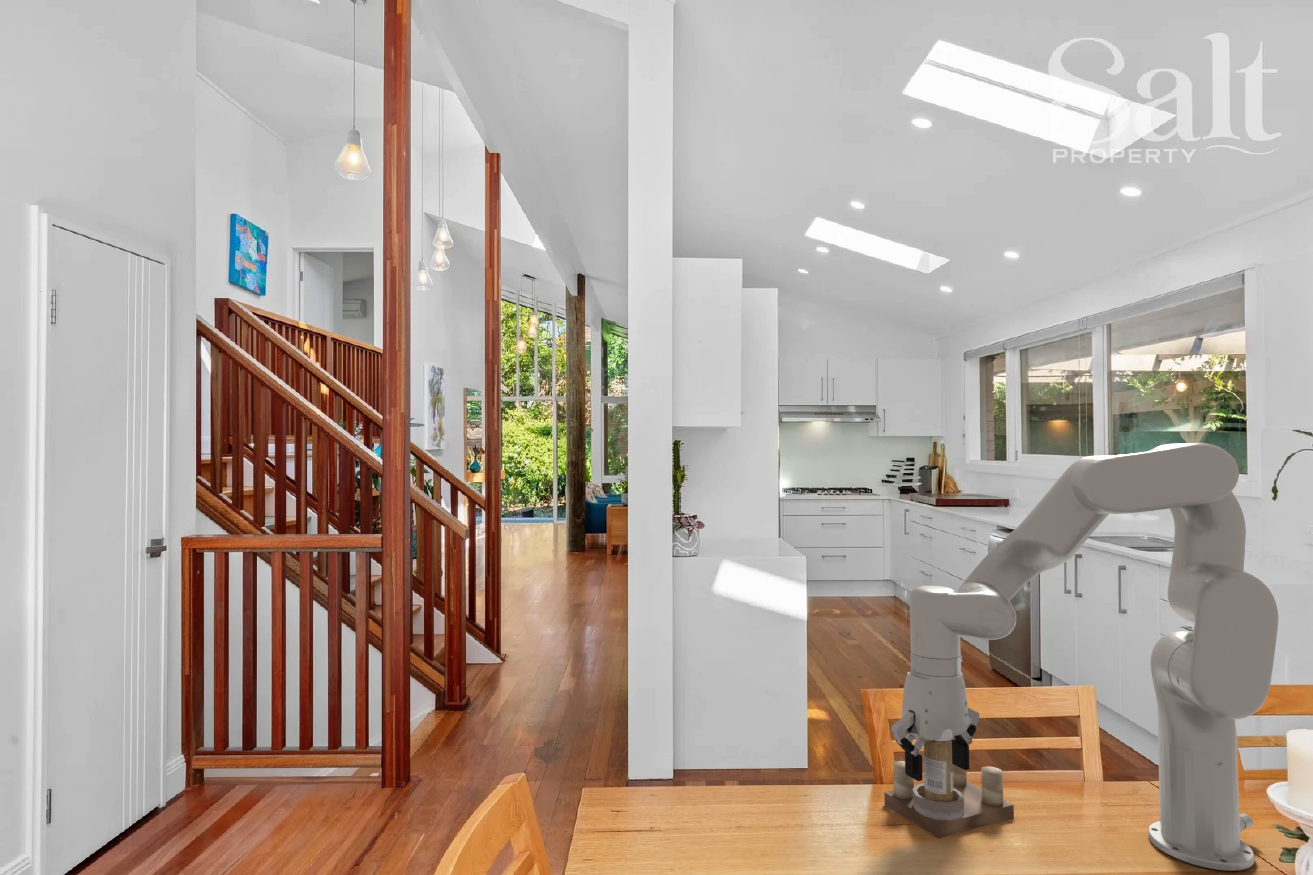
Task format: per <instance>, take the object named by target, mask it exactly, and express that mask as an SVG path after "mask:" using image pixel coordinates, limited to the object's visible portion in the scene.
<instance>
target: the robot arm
mask: <svg viewBox="0 0 1313 875" xmlns="http://www.w3.org/2000/svg"><path fill="white" fill-rule="evenodd" d="M1239 476H1240V470H1239V467H1238V464H1237V461H1236V459H1235V458H1234V457H1233V456H1232V454H1230V452H1229V451H1227V450H1225V449H1224V448H1222V447H1220V446H1218V445H1214V444H1212V443H1207V442H1206V443H1205V442H1194V443H1193V442H1189V443H1182V442H1181V443H1180V442H1179V443H1178V442H1177V443H1167V444H1161V445H1158V446H1156V447H1153V448H1152V449H1150V450H1148V451H1142V452H1136V453H1133V452H1132V453H1127V454H1117V455H1116V454H1115V455H1089V456H1085V457H1081V458H1079V459H1078V460H1076V461H1075V462H1074V461H1073V463H1072V464H1071V465H1069V466H1068V468H1066V470H1065V471H1064V472H1063V473H1062V475H1061V476H1059V478H1058V479H1057V481H1055V483H1054V484H1053V485H1052V486H1051V487H1050V489H1049V490H1048V491H1047V492H1046V494H1045V495H1044V496H1043V497H1042V498H1041V500H1040V501H1039V502H1038V503H1037V504H1036V505H1035V507H1034V508H1033V509H1032V510H1031V511H1030V512H1029V513H1028V515H1027V516H1026V517H1025V518H1024V519H1023V520H1022V522H1020V524H1019V525H1018V526H1016V528H1014V530H1011V531H1010V533H1009V534H1007V536H1006V537H1005V538H1004V539H1003V540H1002V541H1000V543H998V544H997V545H996V546H995V547H994V548H993V549H992V550H991V551H989V552H988V554H987V555H986V556H985V557H984V558H982V560H980V562H979V564H977V566H976V567H975V568H974V569H973V571H971V573H970V574H969V575H968V576H967V577H966V579H965V580H964V581H963V582H962V583H961V585H960V586H959V588H958V590H957V591H956V590H954V589H953V588H950V587H948V586H942V585H940V586H939V585H920V586H917V587H914V588H913V589H912V590H911V591H910V594H909V627H910V628H909V629H910V635H909V636H910V671H908V672H906V673H907V674H906V677H905V679H904V680H905V682H904V687H903V694H902V696H903V697H902V706H901V707H902V710H901V718H900V719H899V720H898V721H896V722H895V723H893V725H892V726H891V732H892V734H893V737H894V738H895V742H896V743H897V744H898V746H900V749H902V750H903V751H904V761H905V773H906V775H908V776H909V777H911V778H913V779H914V781H917V782H921V781H923V780H924V772H923V756H922V754H920V752H921V750H922V748H924V743H925V741H934V740H937V739H940V738H941V736H942V733H943V731H945V730H948V729H950V730H951V731H952V735H953V738H952V764H954V765H955V766H957V767H959V768H961V769H964V770H967V771H969V770H970V745H971V744H972V743H973V736H974V734H975V733H976V732H977V725H978V722H979V720H980V716H981V715H980V713H979V711H978V712H977V711H976V710H973V709H972V708H971V707H968V696H967V690H966V684H965V679H964V674H963V672H962V666H961V664H962V662H963V661H964V657H963V655H962V654H961V636H965V637H970V638H975V639H981V640H988V641H994V640H1001V639H1003V638H1006V637H1007V636H1008V635H1010V634H1011V633H1012V632H1013V631H1014V629H1015V627H1016V624H1017V612H1016V609H1015V607H1014V605H1013V604H1012V602H1011V600H1012V599H1013V598H1014V597H1015V596H1016V594H1017V593H1019V591H1020V590H1021V589H1023V587H1024V586H1025V585H1026V584H1027V583H1028V582H1030V581H1032V580H1033V579H1034V578H1035V577H1036V576H1038V575H1041V573H1044V572H1046V571H1049V570H1052V569H1054V568H1057V567H1059V566H1062V565H1063V564H1065V563H1066V562H1068V561H1069V560H1071V559H1072V558H1073V557H1074V556H1075V554H1076V553H1077V552H1078V550H1080V548H1081V547H1082V546H1083V545H1084V544H1085V542H1086V541H1087V540H1088V539H1089V538H1090V537H1091V535H1092V534H1093V533H1094V532H1095V531H1096V530H1097V529H1098V527H1099V526H1100V525H1101V524H1102V522H1104V521H1105V519H1106V518H1107V517H1108V515H1110V514H1113V515H1121V514H1135V513H1137V514H1138V513H1145V512H1154V511H1162V510H1168V509H1169V511H1170V512H1171V516H1172V519H1173V524H1174V535H1173V536H1174V537H1173V538H1174V539H1173V541H1174V544H1173V550H1172V555H1171V556H1172V558H1171V565H1170V572H1169V573H1170V574H1169V578H1168V579H1169V580H1168V586H1167V600H1168V603H1169V605H1170V608H1171V609H1172V610H1173V611H1174V613H1175V614H1177V616H1179V617H1181V618H1182V619H1183V620H1185V621H1187V622H1189V623H1191V624H1193V625H1194V628H1193V631H1191V630H1176V631H1172V632H1169V633H1167V634H1164V635H1163V636H1162V637H1161V638H1160V639H1158V640H1157V642H1156V643H1155V644H1154V646H1153V647H1152V648H1153V649H1152V652H1151V654H1150V655H1151V656H1150V672H1151V679H1152V684H1153V690H1154V695H1155V703H1156V704H1155V705H1156V714H1157V715H1156V717H1157V751H1158V752H1157V753H1158V782H1159V783H1158V784H1159V785H1158V786H1159V787H1158V789H1159V819H1160V820H1158V821H1155V822H1152V823H1151V824H1150V825H1149V826H1148V829H1147V831H1148V838H1149V840H1150V842H1151V843H1152V844H1153V845H1154V846H1155V847H1156V848H1158V849H1159V850H1160V851H1162V852H1163V853H1165V854H1167V855H1169V856H1171V857H1173V858H1175V859H1177V860H1179V861H1182V862H1185V863H1188V864H1191V865H1194V866H1197V867H1201V868H1202V867H1203V868H1206V869H1211V870H1218V871H1226V872H1227V871H1229V872H1230V871H1231V872H1232V871H1234V872H1235V871H1243V870H1248V869H1249V868H1251V867H1252V866H1253V865H1254V864H1255V853H1254V851H1253V849H1252V848H1251V847H1250V846H1249V845H1248V844H1246V843H1245V842H1244V841H1243V840H1241V833H1242V832H1243V830H1246V829H1249V828H1251V827H1253V825H1254V820H1253V819H1252V817H1251V816H1250V815H1249V814H1247V813H1244V812H1243V813H1242V812H1241V813H1240V804H1239V803H1240V802H1239V796H1240V795H1239V776H1238V775H1239V774H1238V773H1239V772H1238V771H1239V768H1238V767H1239V766H1238V734H1237V724H1236V720H1241V719H1242V720H1243V719H1245V718H1248V717H1250V716H1252V715H1254V714H1256V713H1257V712H1258V711H1259V710H1260V709H1261V708H1262V706H1263V705H1264V704H1265V702H1266V700H1267V698H1268V695H1269V692H1270V689H1271V688H1270V687H1271V683H1272V677H1273V676H1272V675H1273V670H1274V661H1275V660H1274V659H1275V654H1276V646H1277V638H1278V629H1279V609H1278V605H1277V601H1276V599H1275V596H1274V595H1273V593H1272V591H1271V590H1270V588H1269V587H1268V586H1267V585H1266V584H1265V583H1264V581H1261V580H1260V578H1258V577H1256V576H1254V575H1252V574H1251V573H1249V572H1247V571H1245V568H1244V567H1245V556H1246V555H1245V554H1246V552H1245V551H1246V539H1247V537H1246V536H1247V530H1246V529H1247V528H1246V521H1245V516H1244V512H1243V509H1242V507H1241V505H1240V502H1239V501H1238V499H1237V497H1236V495H1235V494H1234V493H1233V490H1235V487H1236V486H1237V483H1238V481H1239ZM915 739H916V740H915ZM914 740H915V741H914ZM913 742H914V743H913Z"/></svg>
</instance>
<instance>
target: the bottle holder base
mask: <svg viewBox="0 0 1313 875" xmlns="http://www.w3.org/2000/svg"><path fill="white" fill-rule="evenodd" d="M892 767H893V768H892V769H893V770H892V771H893V789H892V790H888V791H884V792H883V793H884V796H883V797H884V805H885V806H887V807H888V808H890V809H891V810H893V811H895V812H896V813H898V814H900V815H901V816H902V817H903V818H906V819H907V820H908V821H910V822H912V823H913V824H915V825H917V826H918V827H920V828H921V829H924V831H926V832H927V833H930V835H933V836H934V837H936V838H937V839H938V838H939V839H940V838H942V837H946V836H947V837H948V836H950V835H955V834H958V833H962V832H965V831H969V830H973V829H975V828H976V829H977V828H979V827H984V826H987V825H989V824H995V823H998V822H1002V821H1005V820H1006V821H1007V820H1010V819H1012V818H1015V810H1014V804H1013V803H1011V802H1009V801H1007V800H1005V799H1004V774H1003V770H1002V769H1001V768H998V767H994V766H982V767H981V768H980V770H981V771H980V772H981V773H980V774H981V775H980V777H981V779H980V782H981V787H980V786H978V785H976V784H974V783H972V782H970V781H969V780H967V777H968V774H967V773H968V772H967V771H968V770H964V769H961V768H959V767H957V766H955V765H954V764H952V770H953V802H936V801H932V800H928V799H926V798H925V787H924V782H923V783H918V784H915V779H913V778H911V777H909V776H908V775H906V773H905V760H897V761H894V762H893V766H892Z"/></svg>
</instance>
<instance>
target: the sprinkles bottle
mask: <svg viewBox="0 0 1313 875" xmlns="http://www.w3.org/2000/svg"><path fill="white" fill-rule="evenodd" d="M952 739H954V737H953V735H952V731H951V730H950V729H948V730H945V731H943V733H942V736H941V738H940V739H937V740H934V741H925V743H924V745H923V783H924V787H925V798H926V799H928V800H932V801H936V802H953V770H952Z"/></svg>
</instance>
